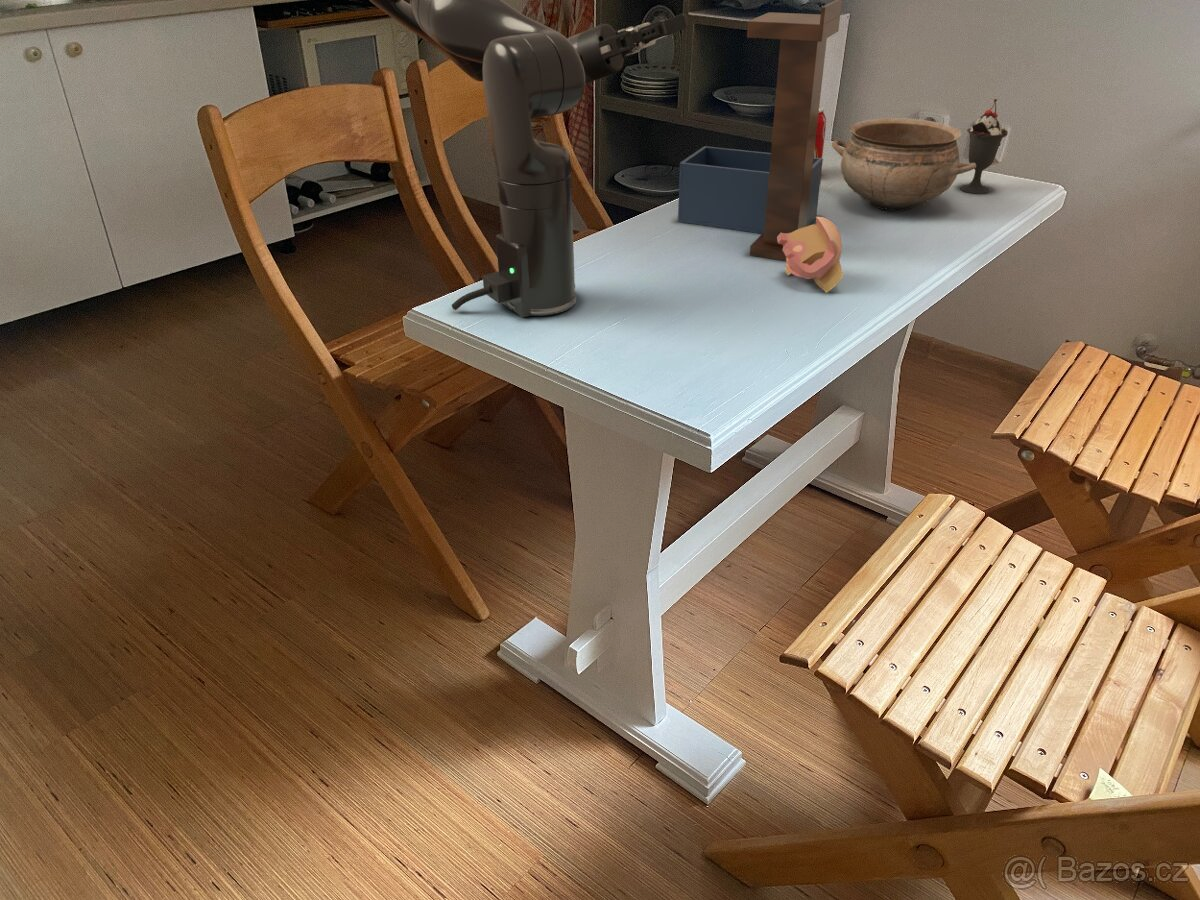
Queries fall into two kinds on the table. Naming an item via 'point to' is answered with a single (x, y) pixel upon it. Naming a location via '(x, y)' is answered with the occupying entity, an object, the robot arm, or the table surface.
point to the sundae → (983, 147)
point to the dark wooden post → (793, 117)
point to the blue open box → (732, 189)
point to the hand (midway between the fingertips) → (675, 23)
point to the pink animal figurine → (814, 253)
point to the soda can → (820, 134)
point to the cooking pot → (900, 161)
